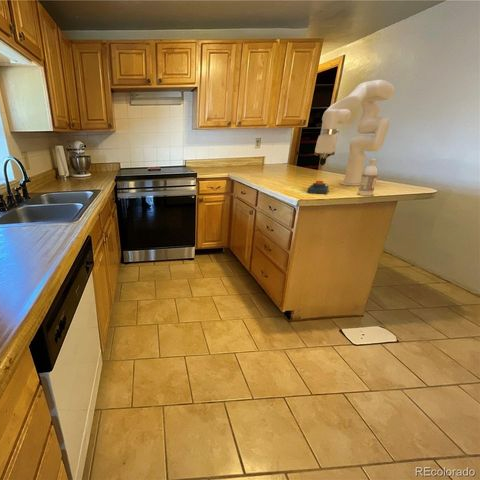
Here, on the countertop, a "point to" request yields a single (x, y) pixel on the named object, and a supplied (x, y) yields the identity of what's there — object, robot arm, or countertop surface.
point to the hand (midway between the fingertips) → (322, 165)
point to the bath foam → (368, 179)
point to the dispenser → (318, 188)
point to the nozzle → (319, 182)
